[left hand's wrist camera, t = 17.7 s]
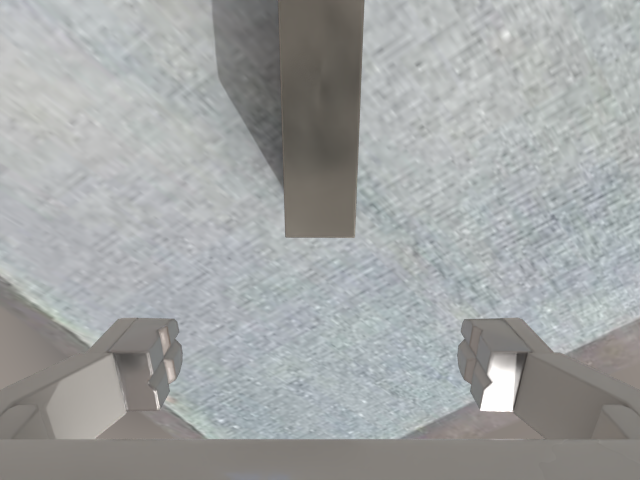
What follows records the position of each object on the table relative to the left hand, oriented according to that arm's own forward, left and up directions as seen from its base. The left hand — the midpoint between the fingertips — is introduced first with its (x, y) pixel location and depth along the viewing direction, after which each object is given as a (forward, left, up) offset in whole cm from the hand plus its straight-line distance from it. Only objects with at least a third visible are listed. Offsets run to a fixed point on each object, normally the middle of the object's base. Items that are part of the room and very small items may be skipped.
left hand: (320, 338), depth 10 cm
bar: (+2, +8, -28) cm, 29 cm away
